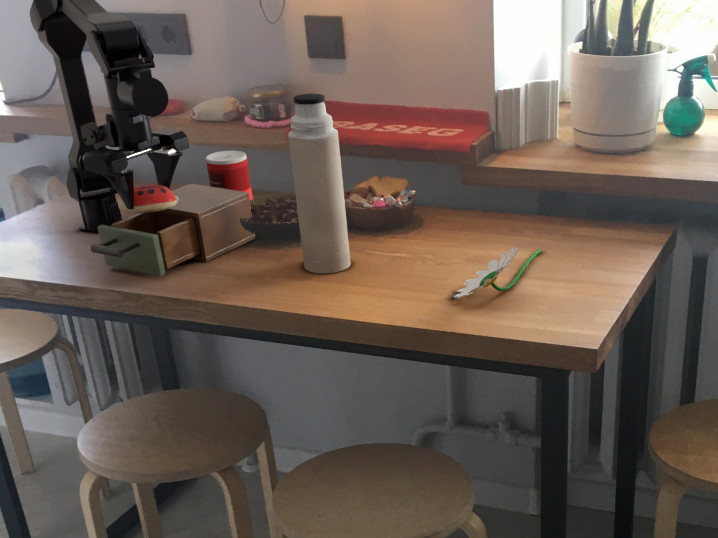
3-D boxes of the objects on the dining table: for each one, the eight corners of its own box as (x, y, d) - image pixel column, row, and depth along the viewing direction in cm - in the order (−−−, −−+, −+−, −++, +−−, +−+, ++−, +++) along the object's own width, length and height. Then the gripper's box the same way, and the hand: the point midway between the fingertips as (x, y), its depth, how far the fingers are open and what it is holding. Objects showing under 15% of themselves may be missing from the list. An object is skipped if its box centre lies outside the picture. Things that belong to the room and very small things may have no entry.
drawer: (138, 286, 166) (129, 246, 162) (83, 275, 171) (73, 235, 167) (210, 253, 179) (203, 215, 175) (157, 243, 184) (149, 206, 180)
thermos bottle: (317, 255, 180) (298, 88, 164) (358, 260, 177) (342, 91, 162) (296, 270, 173) (274, 99, 158) (337, 275, 171) (319, 101, 156)
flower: (562, 219, 176) (498, 255, 151) (576, 247, 177) (515, 288, 152) (501, 253, 182) (430, 293, 157) (515, 280, 183) (448, 324, 158)
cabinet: (206, 261, 178) (198, 213, 173) (148, 250, 183) (138, 203, 178) (255, 238, 188) (248, 192, 183) (198, 228, 193) (190, 183, 188)
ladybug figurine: (119, 205, 173) (115, 185, 172) (178, 200, 176) (175, 179, 174) (119, 217, 168) (114, 196, 166) (180, 211, 170) (176, 190, 169)
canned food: (259, 206, 205) (251, 150, 199) (247, 218, 198) (238, 161, 192) (222, 205, 205) (213, 150, 199) (209, 217, 199) (199, 160, 193)
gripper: (132, 90, 173) (150, 182, 181) (47, 113, 159) (71, 211, 168) (182, 96, 169) (199, 190, 177) (99, 120, 155) (121, 220, 163)
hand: (147, 202), depth 171 cm, fingers closed on ladybug figurine, 8 cm apart
